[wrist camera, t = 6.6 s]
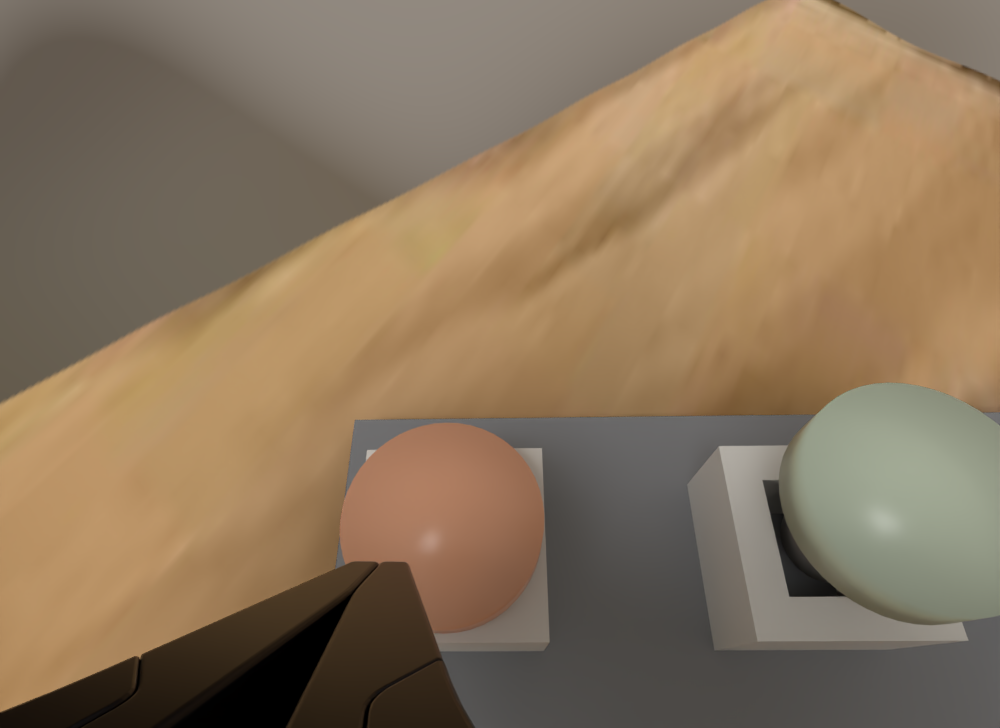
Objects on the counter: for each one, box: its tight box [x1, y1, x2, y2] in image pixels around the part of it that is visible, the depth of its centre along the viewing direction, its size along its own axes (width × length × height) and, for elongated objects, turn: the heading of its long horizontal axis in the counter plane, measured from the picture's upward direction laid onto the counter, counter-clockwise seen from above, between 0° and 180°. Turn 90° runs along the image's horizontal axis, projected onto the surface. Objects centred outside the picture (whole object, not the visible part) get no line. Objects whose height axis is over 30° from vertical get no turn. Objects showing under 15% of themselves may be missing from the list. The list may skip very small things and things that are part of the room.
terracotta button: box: [340, 423, 544, 634], centre depth 16 cm, size 5×5×5 cm
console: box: [335, 413, 1000, 728], centre depth 17 cm, size 10×28×5 cm, turn 90°
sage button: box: [779, 383, 1000, 625], centre depth 14 cm, size 5×5×5 cm
